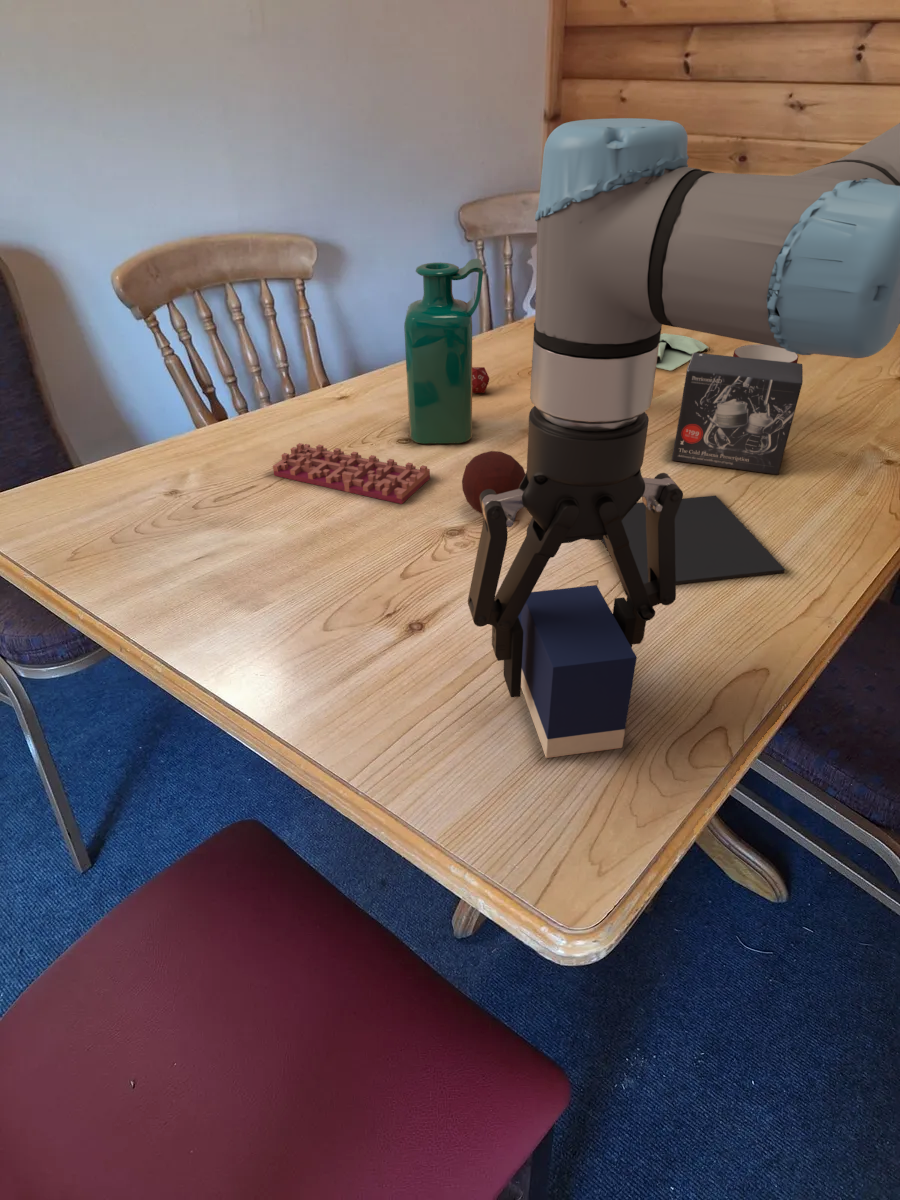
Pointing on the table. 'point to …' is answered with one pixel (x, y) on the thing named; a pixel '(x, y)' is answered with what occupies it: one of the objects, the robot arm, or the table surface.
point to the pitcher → (441, 356)
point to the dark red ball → (490, 476)
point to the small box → (737, 412)
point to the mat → (703, 543)
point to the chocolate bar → (352, 473)
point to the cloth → (677, 350)
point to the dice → (479, 380)
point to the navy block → (575, 671)
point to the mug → (766, 353)
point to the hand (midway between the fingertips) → (564, 678)
